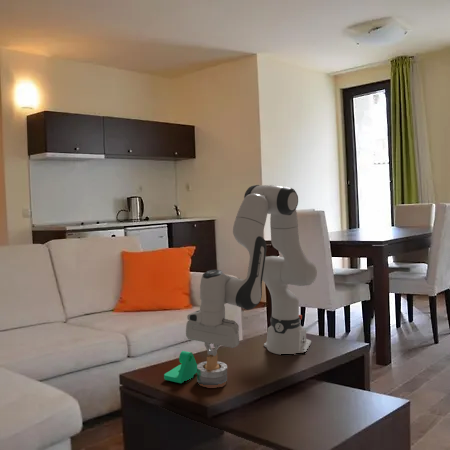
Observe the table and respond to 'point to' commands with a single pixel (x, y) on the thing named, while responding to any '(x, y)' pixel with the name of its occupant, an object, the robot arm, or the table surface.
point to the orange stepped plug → (212, 363)
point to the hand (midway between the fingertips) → (212, 354)
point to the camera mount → (183, 368)
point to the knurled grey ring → (211, 374)
